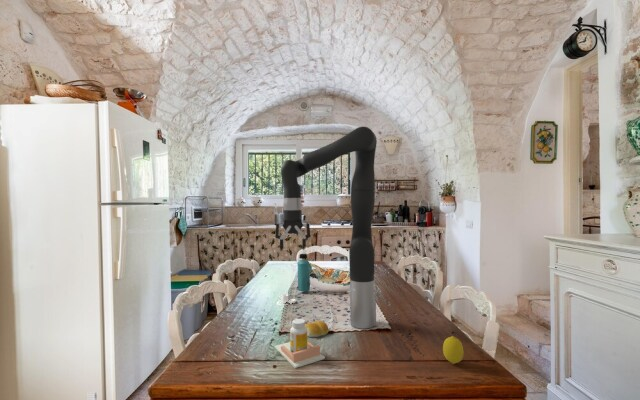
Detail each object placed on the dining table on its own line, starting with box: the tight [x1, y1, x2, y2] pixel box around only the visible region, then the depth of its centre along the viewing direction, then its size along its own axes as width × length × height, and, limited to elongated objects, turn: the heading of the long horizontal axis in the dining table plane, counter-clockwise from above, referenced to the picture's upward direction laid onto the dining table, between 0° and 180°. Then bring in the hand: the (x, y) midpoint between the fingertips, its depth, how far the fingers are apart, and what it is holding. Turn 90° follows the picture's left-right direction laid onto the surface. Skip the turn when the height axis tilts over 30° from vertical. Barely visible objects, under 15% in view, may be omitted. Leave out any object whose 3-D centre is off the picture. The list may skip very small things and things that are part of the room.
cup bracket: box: [274, 340, 326, 369], centre depth 99 cm, size 15×10×3 cm, turn 31°
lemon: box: [442, 335, 465, 365], centre depth 92 cm, size 6×6×8 cm
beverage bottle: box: [296, 253, 311, 292], centre depth 164 cm, size 6×7×20 cm
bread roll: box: [305, 320, 329, 338], centre depth 115 cm, size 8×9×4 cm
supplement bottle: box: [289, 318, 308, 353], centre depth 99 cm, size 5×5×10 cm
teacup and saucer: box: [276, 293, 297, 307], centre depth 148 cm, size 9×8×4 cm
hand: (293, 248), depth 131 cm, fingers open, 8 cm apart
